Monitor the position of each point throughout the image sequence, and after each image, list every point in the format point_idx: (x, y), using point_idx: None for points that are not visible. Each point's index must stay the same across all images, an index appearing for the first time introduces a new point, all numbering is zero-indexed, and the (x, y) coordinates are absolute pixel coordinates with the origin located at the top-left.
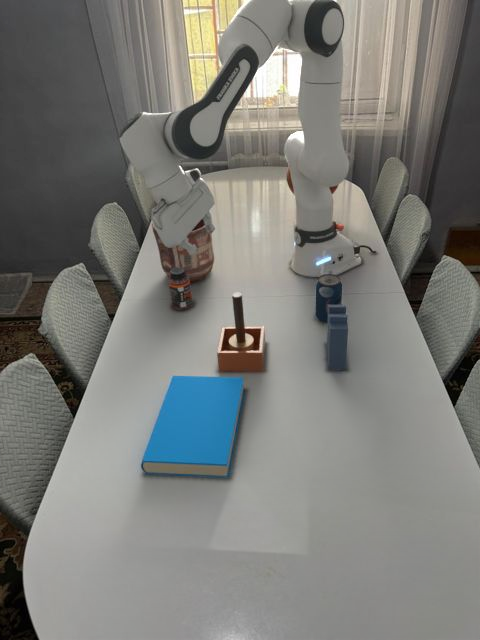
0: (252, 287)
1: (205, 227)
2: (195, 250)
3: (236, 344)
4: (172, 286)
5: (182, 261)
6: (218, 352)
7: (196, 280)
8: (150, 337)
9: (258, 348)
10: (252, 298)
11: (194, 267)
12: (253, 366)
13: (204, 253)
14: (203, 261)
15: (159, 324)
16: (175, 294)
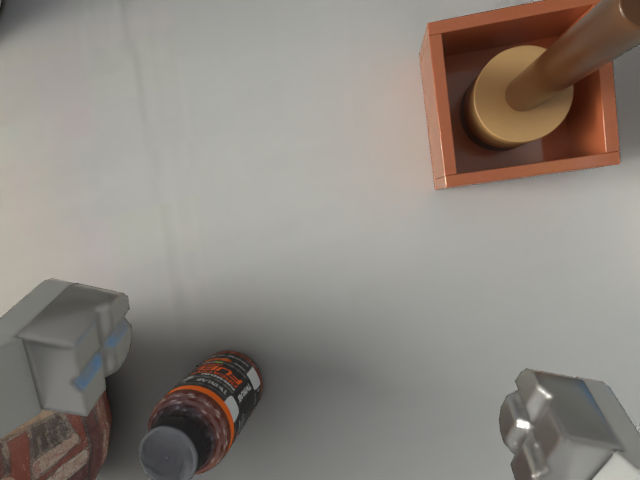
0: (97, 175)
1: (82, 400)
2: (590, 392)
3: (552, 105)
4: (230, 444)
5: (58, 452)
6: (617, 159)
7: None
8: (419, 435)
9: (455, 66)
10: (161, 160)
11: None
12: None
13: None
14: None
15: (346, 427)
16: (243, 419)
